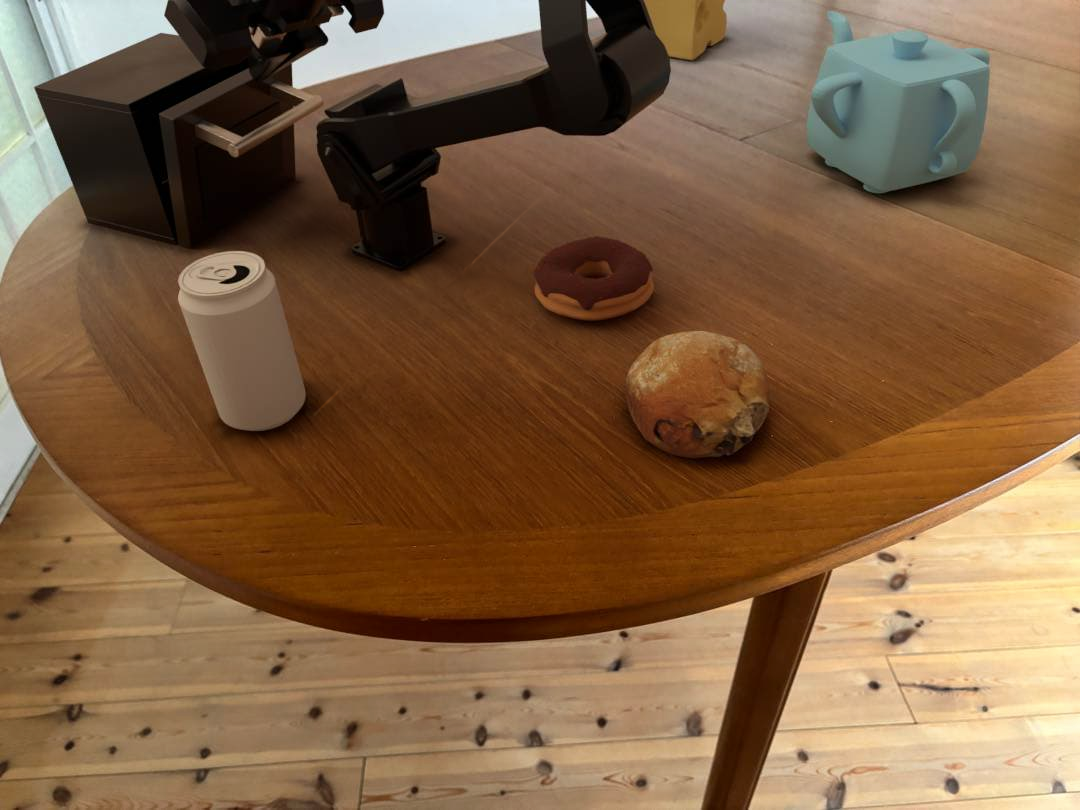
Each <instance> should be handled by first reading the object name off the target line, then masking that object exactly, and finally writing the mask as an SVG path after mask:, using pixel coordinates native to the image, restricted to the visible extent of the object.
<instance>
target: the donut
mask: <svg viewBox="0 0 1080 810" xmlns="http://www.w3.org/2000/svg"><path fill="white" fill-rule="evenodd" d="M535 266H536V267H535V268H534V270H533V278H534V281H535V286H534V294H535V296H536V298H537V300H538V301H539V302H540V303H541V305H542V306H543V308H545V309H546V310H548V311H550V312H551V313H554V314H557V315H558V316H563V317H566V318H570V319H573V320H579V321H590V322H591V321H604V320H609V319H613V318H617V317H620V316H624V315H626V314H628V313H631V312H633V311H635V310H637V309H639V308H641V307H642V306H643V305H644V304H645V303H646V302H647V301H649V299H650V297H651V295H652V294H653V293H654V290H655V289H654V287H655V283H654V280H653V278H652V277H653V276H652V272H653V271H654V269H653V268H654V267H653V265H652V263H651V262H650V260H649V259H648V257H647V255H646V254H645V253H643V251H640V250H638V249H637V248H636V247H635V246H632V245H631V244H629V243H626V242H624V241H620V240H619V239H613V238H610V237H603V236H596V235H595V236H590V237H586V238H581V239H577V240H573V241H569V242H566V243H564V244H562V245H559V246H556V247H554V248H553V249H551V250H549V251H548V252H546V253H545V254H544V256H543V257H542V258H541V259H540V260H539V261H538V263H537V265H535Z"/></svg>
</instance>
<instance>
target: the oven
mask: <svg viewBox="0 0 1080 810" xmlns="http://www.w3.org/2000/svg"><path fill="white" fill-rule="evenodd" d="M248 68H249V65H248V57H247V58H246V59H244V60H243V61H242V62H241V63H239V64H236V65H232V66H228V67H224V68H220V69H216V70H210V69H208V68H205V67H203V66H202V65H201V64H200V63H199V61H198V60H197V59H196V57H195V56H194V55H193V53H192V52H191V51H190V49H189V48H188V47H187V45H186V44H185V43H184V41H183V40H182V39H181V37H180V36H179V35H178V34H173V33H165V32H159V33H157V34H154V35H153V36H150V37H148V38H145V39H143V40H141V41H138V42H135V43H133V44H131V45H129V46H126V47H125V48H122V49H119V50H117V51H115V52H113V53H110V54H108V55H105V56H103V57H101V58H99V59H96V60H94V61H91V62H89V63H86V64H84V65H81V66H79V67H77V68H74V69H73V70H71V71H68V72H65V73H63V74H61V75H58V76H56V77H54V78H51V79H48V80H47V81H44V82H42V83H40V84H37V85H35V86H33V88H34V91H35V93H36V96H37V99H38V101H39V104H40V106H41V109H42V111H43V114H44V116H45V119H46V121H47V124H48V126H49V129H50V131H51V133H52V136H53V139H54V142H55V144H56V146H57V148H58V151H59V154H60V156H61V159H62V161H63V164H64V166H65V169H66V171H67V174H68V176H69V179H70V181H71V184H72V186H73V189H74V192H75V193H76V196H77V198H78V201H79V203H80V206H81V209H82V211H83V214H84V216H85V219H86V222H87V224H90V225H94V226H98V227H102V228H106V229H110V230H114V231H117V232H121V233H126V234H129V235H133V236H136V237H141V238H144V239H148V240H152V241H153V240H154V241H156V242H159V243H164V244H167V245H172V246H178V245H179V244H178V240H177V234H176V227H175V220H174V213H173V207H172V200H171V193H170V186H169V179H168V173H167V166H166V159H165V152H164V145H163V139H162V132H161V125H160V118H159V113H161V112H163V111H165V110H167V109H169V108H171V107H173V106H175V105H177V104H179V103H181V102H183V101H185V100H187V99H189V98H191V97H193V96H195V95H197V94H199V93H201V92H203V91H205V90H207V89H209V88H210V87H212V86H214V85H216V84H218V83H220V82H222V81H224V80H226V79H228V78H230V77H232V76H234V75H236V74H238V73H240V72H242V71H244V70H246V69H248Z"/></svg>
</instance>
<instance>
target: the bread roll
mask: <svg viewBox="0 0 1080 810" xmlns="http://www.w3.org/2000/svg"><path fill="white" fill-rule="evenodd" d="M768 381H769V379H768V375H767V372H766V369H765V367H764V365H763V362H761V360H760V358H759V357H758V356H757V354H756V352H755V351H754V350H753V349H751V348H750V347H749V346H748V345H746V344H744V343H743V342H740V341H739V340H738V339H735V338H733V337H730V336H726V335H724V334H719V333H715V332H709V331H705V330H690V331H680V332H676V333H670V334H667V335H665V336H661V337H659V338H657V339H656V340H654V341H653V342H651V344H649V345H648V346H647V347H646V348H645V349H644V350H643V351H642V352H641V353H640V354H639V356H638V357H637V359H635V360H634V362H633V363H632V364H631V366H630V368H629V370H628V373H627V376H626V382H625V386H626V395H625V396H626V398H625V399H626V405H627V407H628V411H629V414H630V417H631V419H632V421H633V423H634V424H635V425H636V429H638V431H639V432H640V434H641V435H642V436H643V438H644V439H645V440H646V441H647V442H648V443H650V444H651V445H653V446H655V447H656V448H658V449H660V450H661V451H664V452H666V453H667V454H669V455H672V456H676V457H680V458H687V459H688V458H689V459H698V458H699V459H701V458H720V457H722V456H723V455H726V456H730V455H733V454H735V453H736V452H738V451H739V450H740V449H741V448H742V447H743V446H745V445H747V444H749V443H751V442H752V440H753V438H754V435H755V434H756V433H757V432H758V431H759V430H760V429H761V427H762V425H763V423H764V422H765V420H766V418H767V415H768V413H769V412H770V402H769V400H770V399H769V398H770V387H769V382H768Z"/></svg>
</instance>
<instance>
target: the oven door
mask: <svg viewBox="0 0 1080 810" xmlns="http://www.w3.org/2000/svg"><path fill="white" fill-rule="evenodd" d="M293 83H294V82H293V63H291V64H290V65H288V66H286V67H285V68H283V69H282V70H280V71H278V72H277V73H275V74H274V75H272V76H270V77H269V78H267V79H266V80H264V81H260V82H255V80H254V79H253V78H252V76H251V75H250V72H249V68H248V69H246V70H244V71H242V72H240V73H238V74H236V75H234V76H232V77H230V78H228V79H226V80H224V81H222V82H220V83H218V84H216V85H214V86H212V87H210V88H209V89H207V90H205V91H203V92H201V93H199V94H197V95H195V96H193V97H191V98H189V99H187V100H185V101H183V102H181V103H179V104H177V105H175V106H173V107H171V108H169V109H167V110H165V111H163V112H161V113H159V118H160V125H161V132H162V139H163V145H164V152H165V159H166V166H167V173H168V179H169V186H170V193H171V200H172V207H173V213H174V220H175V227H176V234H177V240H178V245H179V246H182V247H183V248H185V249H187V250H192V249H194V248H195V247H197V246H198V245H200V244H201V243H203V242H204V241H206V240H208V239H209V238H210V237H212V236H213V235H215V234H216V233H218V232H219V231H221V230H222V229H223V228H225V227H227V226H228V225H230V224H231V223H233V222H234V221H235V220H238V219H239V218H240V217H242V216H244V215H245V214H247V213H248V212H250V211H251V210H253V209H254V208H255V207H257V206H258V205H260V204H261V203H263V202H264V201H266V200H268V199H269V198H270V197H272V196H274V195H275V194H276V193H279V192H280V191H281V190H282V189H284V188H286V187H287V186H288V185H290V184H291V183H293V182H295V181H296V180H297V173H296V170H297V169H296V144H295V141H296V140H295V124H296V123H297V122H298V121H300V120H302V119H304V118H305V117H307V116H308V115H310V114H312V113H314V112H315V111H317V110H319V109H320V108H322V107H323V106H324V99H323V98H322V96H320V95H319V94H314V95H313V94H310V93H308V92H305V91H304V90H302V89H299V88H296V87H294V86H293Z"/></svg>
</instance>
